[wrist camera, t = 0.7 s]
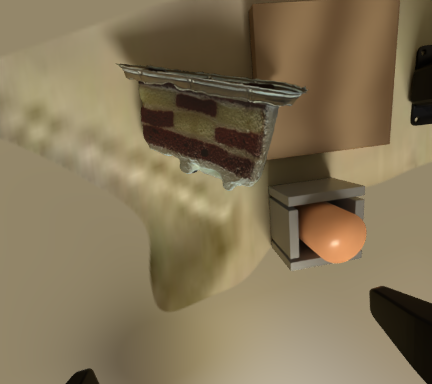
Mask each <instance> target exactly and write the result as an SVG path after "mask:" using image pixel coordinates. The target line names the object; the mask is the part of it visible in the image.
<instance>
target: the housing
mask: <svg viewBox="0 0 432 384" xmlns="http://www.w3.org/2000/svg"><path fill="white" fill-rule="evenodd" d="M268 188H269V194H270V195H271V196H273V197H271V198H269V205H270V222H271V237H272V239H273V240H272V248H273V249H274V250H275V252H276V253H277V254H278V255H279V257H280V258H281V259H282V260H283V261H284V263H285V264H286V265H287V267H288V268H289V269H290V270H291V271H293V270H299V269H304V268H310V267H315V266H320V265H326V264H332V263H330V262H327V261H325V260H324V259H323V258H321V257H320V256H319V255H318V254H317V253H316V252H314V251H313V250H312V249H311V248H310V247H309V246H307V245H306V244H305V243H304V242H303V241H302V240H300V239H299V230H298V210H297V209H296V208H294V207H293V206H297V205H303V204H310V203H316V202H323V201H326V202H328V203H330V204H333V205H335V206H337V207H339V208H342V209H344V210H346V211H349V212H351V213H353V214H355V215H357V216H359V217H360V218H361V219H362V220H363V216H364V199H361V198H358V197H356V196H362V195H365V186H363V185H359V184H355V183H351V182H347V181H343V180H339V179H335V178H325V179H317V180H310V181H303V182H296V183H289V184H282V185H275V186H268ZM361 257H362V250H360V251H359V252H358V254H357V255H355V256H354V257H353V258H351V259H350V260H353V259H359V258H361Z"/></svg>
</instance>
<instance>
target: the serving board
mask: <svg viewBox="0 0 432 384" xmlns="http://www.w3.org/2000/svg"><path fill="white" fill-rule="evenodd" d="M399 7H400V0H314V1H296V2H278V3H260V4H252V6H251V8H250V10H249V25H250V40H251V55H252V70H253V79H254V80H255V79H260V80H268V81H277V82H286V83H288V84H296V85H297V86H300V87H301V88H302V87H305V86H306V90H308V91H307V93H306V92H305V93H303V94H302V95H300V97H299V98H298V99H297V100H296V101H295V103H294V104H293V105H292V106H287V105H285V106H279V109H278V115H277V118H276V123H275V127H274V132H273V136H272V141H271V144H270V147H269V151H268V154H267V160H270V159H278V158H286V157H293V156H301V155H309V154H317V153H324V152H332V151H340V150H347V149H355V148H363V147H371V146H378V145H386V144H390V130H391V117H392V103H393V89H394V76H395V62H396V48H397V35H398V21H399Z"/></svg>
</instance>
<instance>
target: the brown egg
mask: <svg viewBox="0 0 432 384" xmlns="http://www.w3.org/2000/svg"><path fill="white" fill-rule="evenodd" d="M293 207H294V208H296V209H297V210H298V230H299V239H300V240H302V241H303V242H304V243H305V244H306V245H307V246H309V247H310V248H311V249H312V250H313V251H314V252H316V253H317V254H318V255H319V256H320V257H321V258H323V259H324V260H325V261H327V262H330V263H342V262H345V261H348V260H350V259H351V258H353V257H354V256H355V255H357V254H358V252H359V251H360V250H361V248H362V247H363V245H364V243H365V239H366V227H365V224H364V222H363V220H362V219H361V218H360V217H359V216H357V215H355V214H353V213H351V212H349V211H346V210H344V209H342V208H339V207H337V206H335V205H333V204H330V203H328V202H326V201H323V202H316V203H310V204H303V205H297V206H293Z"/></svg>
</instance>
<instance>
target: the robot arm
mask: <svg viewBox="0 0 432 384" xmlns="http://www.w3.org/2000/svg"><path fill="white" fill-rule="evenodd" d="M422 50H424V51H425V53H424V55H422V54H421V51H422ZM411 102H412V110H411V124H412V125H413V126H417V125H425V124H432V45H427V46H422V47H420V48H419V49H418V51H417V56H416V67H415V72H414V78H413V89H412V99H411ZM416 117H417V118H418V121H417V122H415V118H416ZM370 310H371V313H372V315H373V317H374V318H375V320H376V321H377V322H378V324H379V325H380V326H381V327H382V329H383V330H384V331H385V333H386V334H387V335H388V336H389V338H390V339H391V340H392V342H393V343H394V344H395V346H396V347H397V348H398V350H399V351H400V352H401V353H402V355H403V356H404V357H405V358H406V360H407V361H408V362H409V364H410V365H411V366H412V367H413V368H414V370H415V371H416V372H417V373H418V374H419V375H420V376H421V378H422V379H423V380H424V381H425V382H426V383H427V384H432V303H429V302H427V301H423V300H421V299H418V298H415V297H413V296H410V295H407V294H404V293H402V292H399V291H396V290H393V289H391V288H388V287H385V286H380V287H376V288H373V289H371V290H370ZM66 384H99V382H98V380H97V378H96V376H95V373H94V371H93V370H92V369H90V368H89V369H85V370H81V371H78V372H76V373H75V374H74V375H73V376H72V377H71V378H70V379H69V381H67V383H66Z"/></svg>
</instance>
